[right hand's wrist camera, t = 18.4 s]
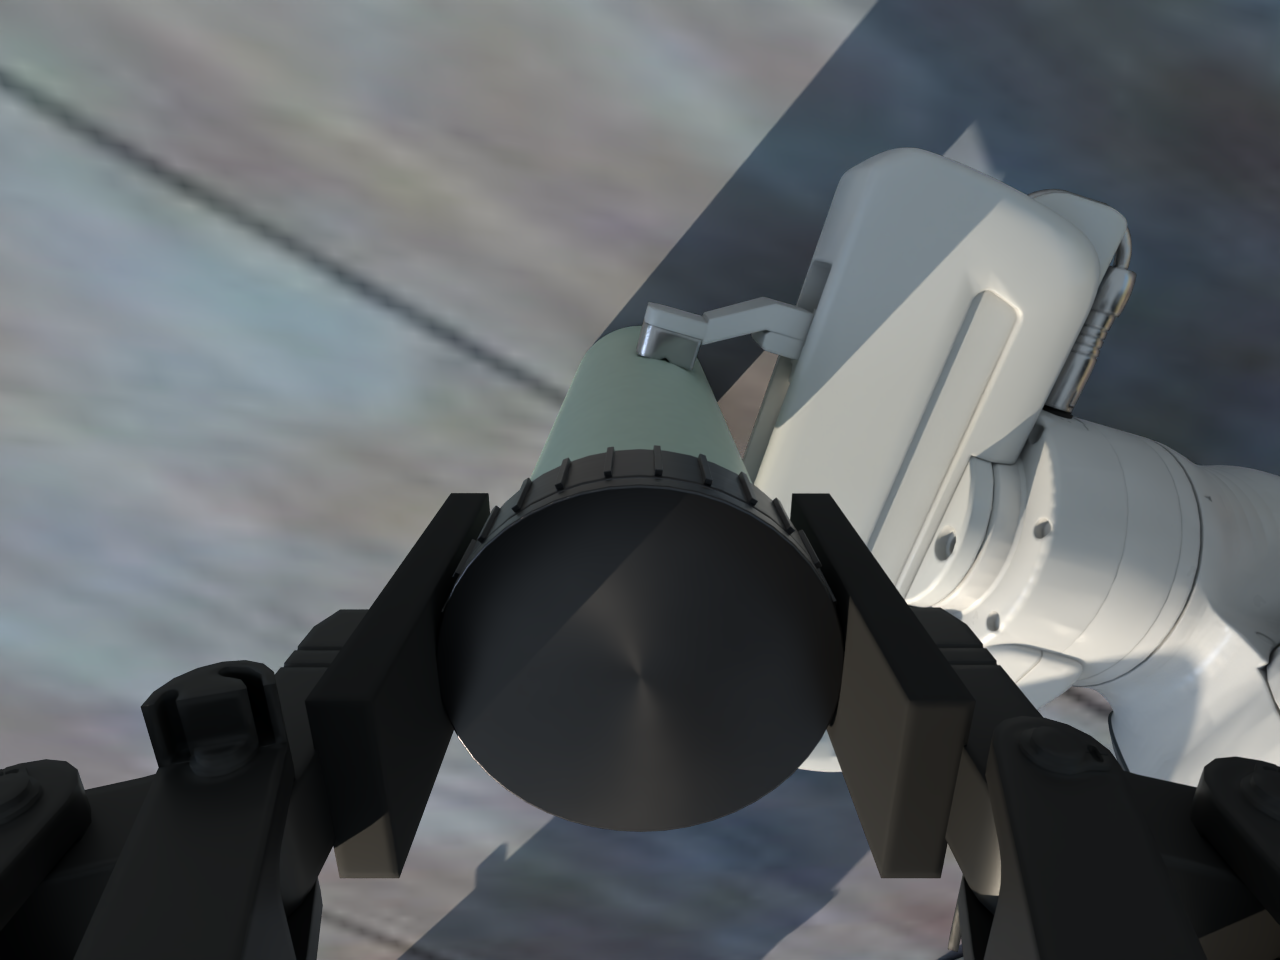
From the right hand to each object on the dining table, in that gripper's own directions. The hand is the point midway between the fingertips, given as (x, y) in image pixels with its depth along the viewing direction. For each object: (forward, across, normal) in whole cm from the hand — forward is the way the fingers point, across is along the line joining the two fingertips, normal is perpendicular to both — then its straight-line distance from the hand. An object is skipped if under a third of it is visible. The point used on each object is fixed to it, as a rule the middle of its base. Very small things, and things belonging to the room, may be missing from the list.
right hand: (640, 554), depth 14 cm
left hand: (+9, -1, 0) cm, 9 cm away
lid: (-4, 0, 0) cm, 4 cm away
